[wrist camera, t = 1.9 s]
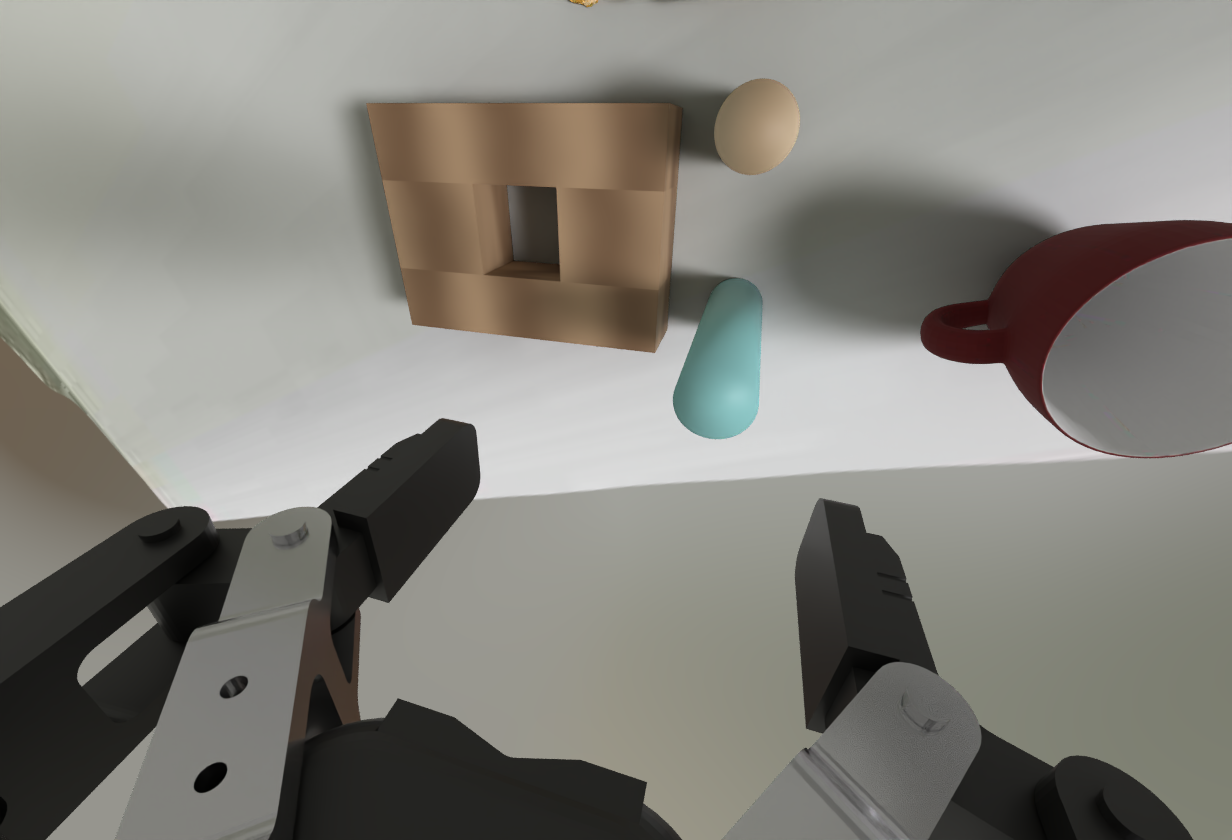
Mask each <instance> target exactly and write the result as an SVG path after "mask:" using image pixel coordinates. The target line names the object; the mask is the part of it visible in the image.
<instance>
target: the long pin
mask: <svg viewBox="0 0 1232 840" xmlns="http://www.w3.org/2000/svg"><path fill="white" fill-rule="evenodd" d="M761 328H762V297H761V294H760V292H759V290H758V289H757V287H756V286H755V285H754V284H752V283H751V282H749V281H747V280H744V279H740V278H733V279H728V280H725V281H723V282H721V283H720V284H718V285H717V286H716V287H715V288H714V289H713V291H712V292H711V294H710V297H709V299H708V302H707V305H706V307H705V310H704V313H703V315H702V318H701V321H700V323H699V326H698V329H697V331H696V334H695V337H694V339H693V342H692V345H691V347H690V350H689V353H688V355H687V358H686V361H685V363H684V366H683V369H682V371H681V374H680V377H679V379H678V382H677V385H676V387H675V390H674V394H673V406H674V410H675V413H676V415H677V417H678V419H679V420H680V422H681V423H682V424H683V425H684V426H685V427H686V428H687V429H688V430H690V431H691V432H693V433H695V434H697V435H699V436H702V437H705V438H710V439H725V438H730V437H733V436H736V435H738V434H740V433H741V432H743V431H744V430H746V429H747V428H748V427H749V426H750V425H751V424H752V422H753V421H754V419H755V417H756V415H757V412H758V407H759V384H760V356H761Z"/></svg>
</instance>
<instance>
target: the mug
mask: <svg viewBox="0 0 1232 840" xmlns="http://www.w3.org/2000/svg"><path fill="white" fill-rule="evenodd" d="M982 324H987V326H988V327H989V330H966V329H963V328H967V327H971V326H976V325H982ZM920 334H921V341H922V343H923V346H924V347H925V348H926V349H927V350H928V351H930V352H931V353H933V354H934V355H936V356H939V357H941V358H944V359H947V360H951V361H955V362H961V363H969V364H992V363H1004V364H1005V366H1006V368H1007V370H1008V372H1009V374H1010V376H1011V377H1012V379H1013V381H1014V382H1015V384H1016V386H1017V387H1018V389H1019V390H1020V391H1021V393H1022V394H1023V395H1024V397H1025V398H1026V399H1027V400H1028V401H1029V402H1030V403H1031V404H1032V406H1033V407H1034V408H1035V409H1036V410H1037V411H1038V412H1039V413H1041V414H1042V415H1043V416H1044V417H1045V418H1046V419H1047V420H1048V421H1049V422H1050V423H1051V424H1052V425H1053V426H1055V427H1056V428H1057V429H1058V430H1059V431H1060V432H1062V433H1063V434H1064V435H1065V436H1067V437H1068V438H1070V439H1072V440H1073V441H1075V442H1076V443H1079V444H1081V445H1083V446H1085V447H1087V448H1090V449H1092V450H1095V451H1098V452H1102V453H1106V454H1110V455H1116V456H1122V457H1131V458H1165V457H1175V456H1183V455H1189V454H1194V453H1199V452H1204V451H1208V450H1212V449H1216V448H1219V447H1222V446H1225V445H1229V444H1232V223H1224V222H1215V221H1197V220H1175V221H1156V222H1137V223H1118V224H1101V225H1093V226H1086V227H1081V228H1077V229H1073V230H1070V231H1066V232H1063V233H1060V234H1058V235H1055V236H1053V237H1051V238H1049V239H1046V240H1044V241H1042V242H1041V243H1039V244H1037V245H1035V246H1034V247H1032V248H1030V249H1029V250H1028V251H1026V252H1025V253H1023V254H1022V255H1021V256H1020V257H1019V258H1017V259H1016V260H1015V261H1014V262H1013V263H1012V264H1011V265H1010V266H1009V267H1008V268H1007V270H1006V271H1005V272H1004V273H1003V275H1002V276H1001V278H1000V279H999V281H998V282H997V284H996V286H995V288H994V289H993V292H992V294H991V295H990V297H989V298H988V299H987V300H983V301H975V302H966V303H958V304H952V305H947V306H944V307H941V308H938V309H936V310H934V311H932V312H931V313H930V314H928V315H927V316H926V317H925V319H924V321H923V323H922V325H921V330H920Z"/></svg>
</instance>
